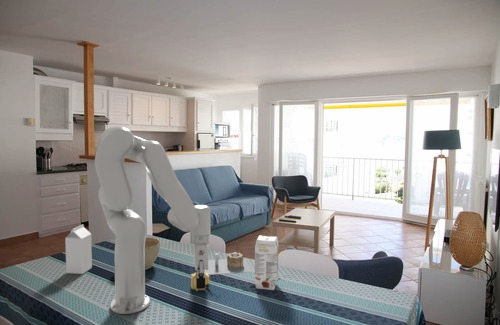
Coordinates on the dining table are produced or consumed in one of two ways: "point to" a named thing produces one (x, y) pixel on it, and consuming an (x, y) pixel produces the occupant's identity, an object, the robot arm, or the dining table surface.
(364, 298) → the dining table surface
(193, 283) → the ochre gear
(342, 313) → the dining table surface
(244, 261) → the gear board
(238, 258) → the beech gear
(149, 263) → the planter bowl
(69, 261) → the milk carton
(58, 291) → the dining table surface
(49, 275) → the dining table surface
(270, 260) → the juice carton
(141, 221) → the robot arm
